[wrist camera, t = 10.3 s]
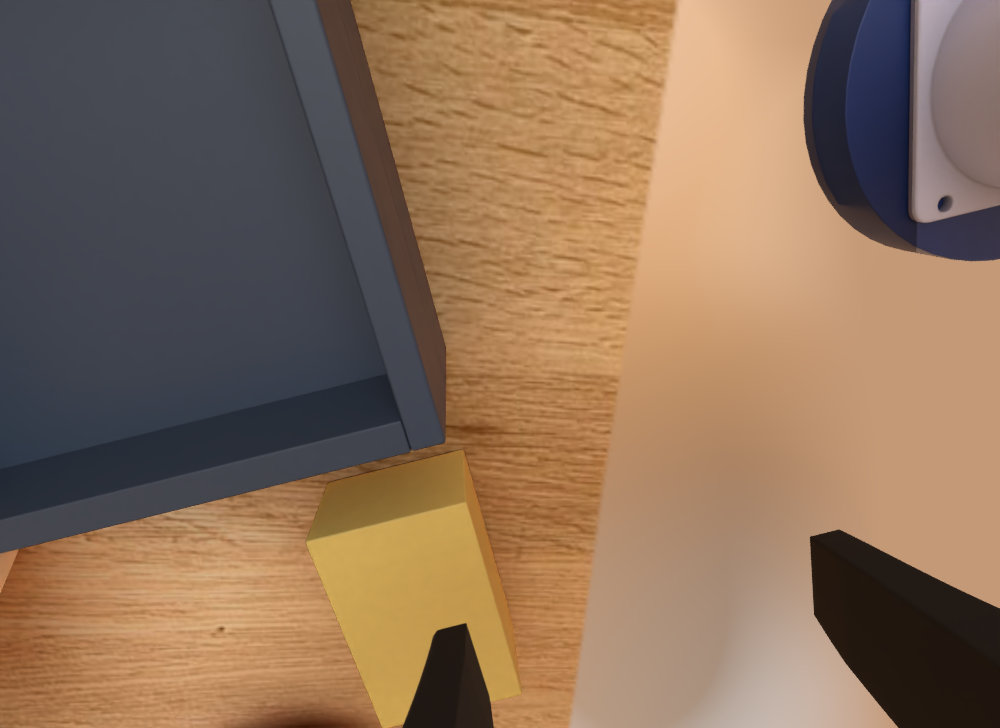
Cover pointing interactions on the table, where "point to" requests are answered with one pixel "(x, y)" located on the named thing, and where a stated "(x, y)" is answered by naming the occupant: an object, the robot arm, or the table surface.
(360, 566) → the notepads
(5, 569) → the mug
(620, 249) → the table surface
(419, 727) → the robot arm
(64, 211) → the bin
